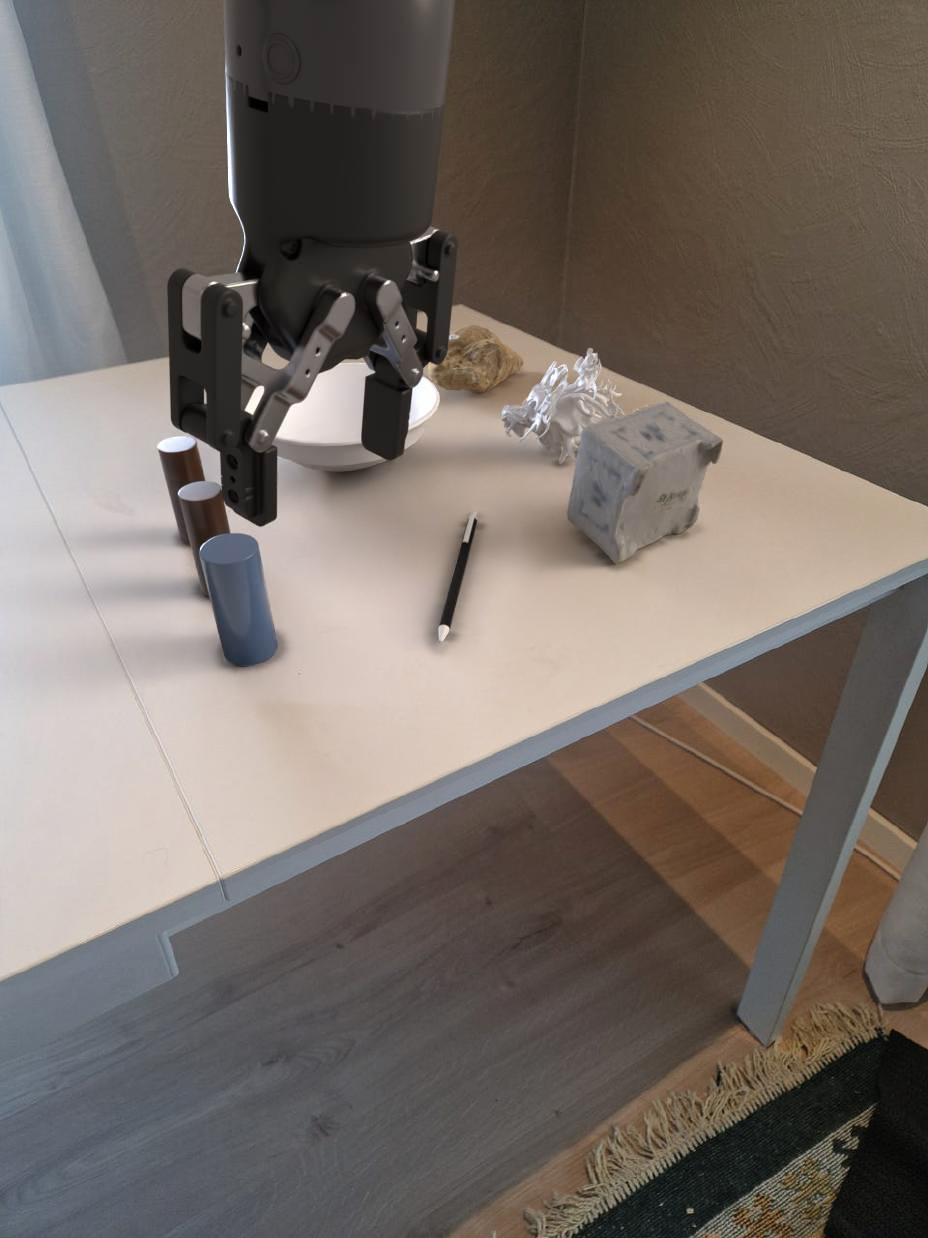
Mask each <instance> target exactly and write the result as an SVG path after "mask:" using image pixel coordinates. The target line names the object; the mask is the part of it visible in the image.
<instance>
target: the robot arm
mask: <svg viewBox="0 0 928 1238" xmlns="http://www.w3.org/2000/svg"><path fill="white" fill-rule="evenodd" d="M455 3H456V1H455V0H223V26H224V27H223V31H224V32H223V33H224V64H225V65H224V66H225V69H224V70H225V93H226V94H225V99H226V133H227V137H226V138H227V167H228V169H227V171H228V194H229V195H228V196H229V201H230V203H231V205H232V207H233V209H234V212H235V213H236V215H237V217H238V219H239V223H240V225H241V227H242V230H243V231H242V232H243V238H244V242H243V249H242V253H241V257H240V260H239V263H238V265H237V268H236V272H230V273H224V274H217V275H209V276H206V275H203V274H201V273H196V272H194V271H192V270H190V269H188V268H182V267H181V268H177V269H176V270H174V271H173V272H172V273H171V275H170V276H169V278H168V281H167V286H166V287H167V288H166V291H167V292H166V293H167V294H166V295H167V296H166V297H167V326H168V327H167V328H168V329H167V330H168V334H167V335H168V366H169V368H168V369H169V402H170V403H169V404H170V405H169V406H170V408H169V409H170V410H169V411H170V421H171V424H172V426H173V427H174V428H176V429H177V430H179V431H181V432H183V433H185V434H188V435H190V436H191V437H193V438H194V439H197V440H199V441H201V442H202V443H204V444H205V445H208V446H209V447H210V448H212V449H214V450H215V451H217V452H219V462H220V464H219V465H220V476H221V477H220V484H221V485H220V487H221V490H222V498H223V500H224V504H225V507H228V508H229V509H231V510H232V511H233V512H234V513H235V514H236V515H238V516H240V517H241V518H243V519H244V520H246V521H248V522H249V523H251V524H253V525H255V526H256V527H259V528H262V527H265V526H266V525H268V524H271V523H272V522H274V521H276V520H277V518H278V456H277V447H276V446H274V445H272V443H273V441H274V439H275V437H276V435H277V433H278V431H279V429H280V427H281V425H282V423H283V421H284V419H285V417H286V415H287V413H288V410H289V408H290V407H291V406H292V405H293V404H296V403H301V402H302V401H304V400H305V399H306V397H307V395H308V393H309V391H310V389H311V387H312V385H313V383H314V381H315V379H316V377H317V375H318V374H319V373H322V372H325V371H328V370H330V369H332V368H334V367H335V366H336V365H338V364H339V363H343V361H346V360H351V361H352V360H357V361H359V360H360V359H363V360H364V363H366V364H367V366H368V367H369V369H371V370H373V371H375V373H373V374H371V375H368V376H365V389H364V403H363V417H362V431H361V442H362V445H363V446H364V448H365V449H366V450H368V451H370V452H372V453H374V454H376V455H378V456H380V457H382V458H384V459H386V461H389V462H391V461H393V460H395V459H398V458H399V457H401V456H403V455H404V453H405V449H404V448H405V439H406V436H407V433H408V427H409V418H410V414H409V413H410V409H411V400H412V391H413V388H414V387H416V386H417V385H418V384H419V382H420V381H421V378H422V376H423V375H424V368H426V367H427V366H428V364H429V363H433V364H435V365H439V364H441V363H442V362H443V360H444V359H445V357H446V355H447V351H448V343H449V333H450V332H451V321H452V309H453V300H454V289H455V277H456V268H457V259H458V248H459V241H458V237H457V236H456V235H455V234H452V233H450V232H447V231H445V230H442V229H439V228H436V227H434V226H431V225H432V222H433V218H434V217H433V216H434V208H435V199H436V190H437V181H438V180H437V179H438V171H439V162H440V153H441V144H442V136H443V135H442V134H443V126H444V118H445V117H444V116H445V106H446V97H447V87H448V79H449V78H448V77H449V70H450V69H449V68H450V59H451V52H452V41H453V32H454V21H455ZM418 311H420V312H423V313H424V314H425V315H426V320H427V322H426V331H425V330H422V329H420V328H417V327H418V326H417V325H418ZM267 345H269V346H270V348H271V349H272V351H273V352H274V353H275V354H276V355H277V356H278V357H280V358H281V359H283V360H285V361H288V363H287V365H285V366H284V367H282V368H280V369H279V368H278V369H277V368H273V367H272V366H270V365H268V364H267V363H263V359H262V358H263V354H264V351H265V349H266V347H267ZM423 377H424V376H423ZM258 386H264V393H263V395H262V397H261V399H260V401H259V403H258V405H257V407H256V409H255V411H254V413H253V415H252V414H250V413H249V412H247V411H245V409H246V407H247V405H248V403H249V401H250V399H251V396H252V394H253V392H254V390H255V389H256V388H257V387H258ZM205 395H206V397H205ZM205 398H206V403H205Z"/></svg>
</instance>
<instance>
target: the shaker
mask: <svg viewBox="0 0 928 1238" xmlns="http://www.w3.org/2000/svg"><path fill="white" fill-rule="evenodd" d="M199 555H200V560H201V564H202V568H203V572H204V576H205V580H206V584H207V588H208V593H209V597H208V598H209V600H210V606H211V608H212V609H211V610H212V613H213V617H214V622H215V625H216V629H217V633H218V637H219V643H220V646H221V651H222V655H223V657H224V659H225V660H226V661H227V662H228V663H230V664H232V665H234V666H239V667H252V666H255V665H260V664H262V663H264V662H266V661H267V660H269V659H271V658H272V657H273V656H274V655H275V653H276V652H277V650H278V640H277V634H276V629H275V623H274V618H273V614H272V613H273V612H272V608H271V604H270V603H271V602H270V597H269V592H268V587H267V581H266V577H265V571H264V567H263V562H262V556H261V551H260V546H259V542H258V540H257V539H256V538H255V537H254V536H252V535H250V534H247V533H240V532H231V533H229V534H223V535H219V536H216V537H214V538H212V539H210V540H208V541H207V542H205V543H204V544H203V545H202V547H201V548H200V551H199Z"/></svg>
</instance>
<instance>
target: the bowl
mask: <svg viewBox="0 0 928 1238" xmlns="http://www.w3.org/2000/svg"><path fill="white" fill-rule="evenodd" d="M373 373H375V371H373V370H371V369H369V367H368V366H367V364H366V362H341V363H339V364H338V365H336V366H335V367H334V368H332V369H330V370H328V371H325V372H322V373H319V374H318V375H317V377H316V379H315V381H314V383H313V385H312V387H311V389H310V391H309V393H308V395H307V397H306V399H305V400H304V401H302V402H301V403H296V404H293V405H292V406H291V407H290V408H289V410H288V413H287V415H286V417H285V419H284V421H283V423H282V425H281V427H280V429H279V431H278V433H277V435H276V437H275V439H274V441H273V443H272V445H274V446H276V447H277V457H279V458H281V459H283V460H287V461H289V462H293V463H295V464H297V465H300V466H302V467H306V468H309V469H311V470H312V469H313V470H318V471H326V472H339V473H341V472H352V471H359V470H364V469H367V468H370V467H374V466H376V465H379V464H382V463H384V462H386V461H387V460H386V459H384V458H382V457H380V456H378V455H376V454H374V453H372V452H370V451H368V450H366V449H365V448H364V446H363V445H362V442H361V431H362V417H363V403H364V389H365V376H368V375H371V374H373ZM439 392H440V391H439V390H438V389H437V387H436V385H435V383H434V382H432V381H431V380H429V379H428V378H427V377H425V376H422V378H421V381H420V382H419V384H418V385H417V386H416V387H414V388H413V391H412V400H411V409H410V413H409V414H410V418H409V427H408V433H407V436H406V439H405V448H404V450H406V449H408V448H410V447H411V446H413V445H414V444H416V443H417V442H418V440H420V438H421V437H422V436H424V433H425V430H426V428H427V425H428V422H429V420H430V418H431V417H432V416H433V414H434V413H435V412H436V411H437V410H438V408H439V406H440V405H439V404H440V402H441V401H440V400H441V399H440V393H439ZM263 393H264V386H258V387H257V388H256V389H255V390H254V392H253V394H252V396H251V399H250V401H249V403H248V405H247V407H246V409H245V411H247V412H249V413H250V414H252V415H253V413H254V411H255V409H256V407H257V405H258V403H259V401H260V399H261V397H262V395H263Z"/></svg>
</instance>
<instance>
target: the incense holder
mask: <svg viewBox="0 0 928 1238" xmlns="http://www.w3.org/2000/svg"><path fill="white" fill-rule="evenodd" d="M648 406H649V405H648ZM615 417H616V416H615ZM723 444H724V439H723V438H721V436H718V435H717V434H716V433H714V432H713V431H712V430H711V429H709V428H708V427H706V426H705V425H703V424H702V423H700V422H699V421H697V420H695V419H694V418H692V417H690V416H689V415H688V414H687V413H686V412H684V411H682V410H680V408H678V407H677V406H675V405H674V404H673V403H672V402H670V401H662V402H659V403H656V404H653V405H650V406H649V407H647V406H646V407H644V408H641V409H638V411H636V410H635V411H633V412H632V411H631V412H629V413H626V414H624V415H620V416H619V417H616V418H611V419H608V420H604V421H601V422H598V423H595V424H591V425H588V426H586V427H585V428H584V429H583V430H582V432H581V436H580V439H579V446H578V447H579V450H578V451H577V454H576V458H575V459H576V464H574V465H575V466H574V473H573V477H572V484H571V488H570V492H569V498H568V503H567V509H566V518H567V520H568V521H569V522H570V523H571V524H572V525H573V526H574V527H575V528H577V529H578V530H579V531H581V532H582V533H583V534H585V535H586V536H587V537H588V538H589V539H590V540H591V541H592V542H593V543H595V544H596V545H597V546H599V547H600V549H601V550H602V551H603V552H604V554H606V555H607V556H608V557H609V558H610V560H612V562H613V563H614V564H616V565H617V564H618V565H619V564H620V563H622V562H625V561H627V560H628V559H630V558H632V557H633V556H634V554H635V553H636V551H637V550H639V549H641V548H644V547H647V546H648V545H650V544H653V543H654V542H656V541H658V540H660V539H662V537H664V536H669V535H671V534H676V535H678V534H681V533H683V532H684V531H686V530H688V529H690V528H691V527H693V525H695V524H696V523H697V521H698V519H699V514H700V512H701V511H700V510H701V508H700V502H699V500H700V499H699V497H700V492H701V489H702V486H703V482H704V479H705V476H706V472H707V470H708V467H709V465H710V463H712V464H713V465H715V464H717V463H718V462H719V460H720V458H721V454H722V450H723Z"/></svg>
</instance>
